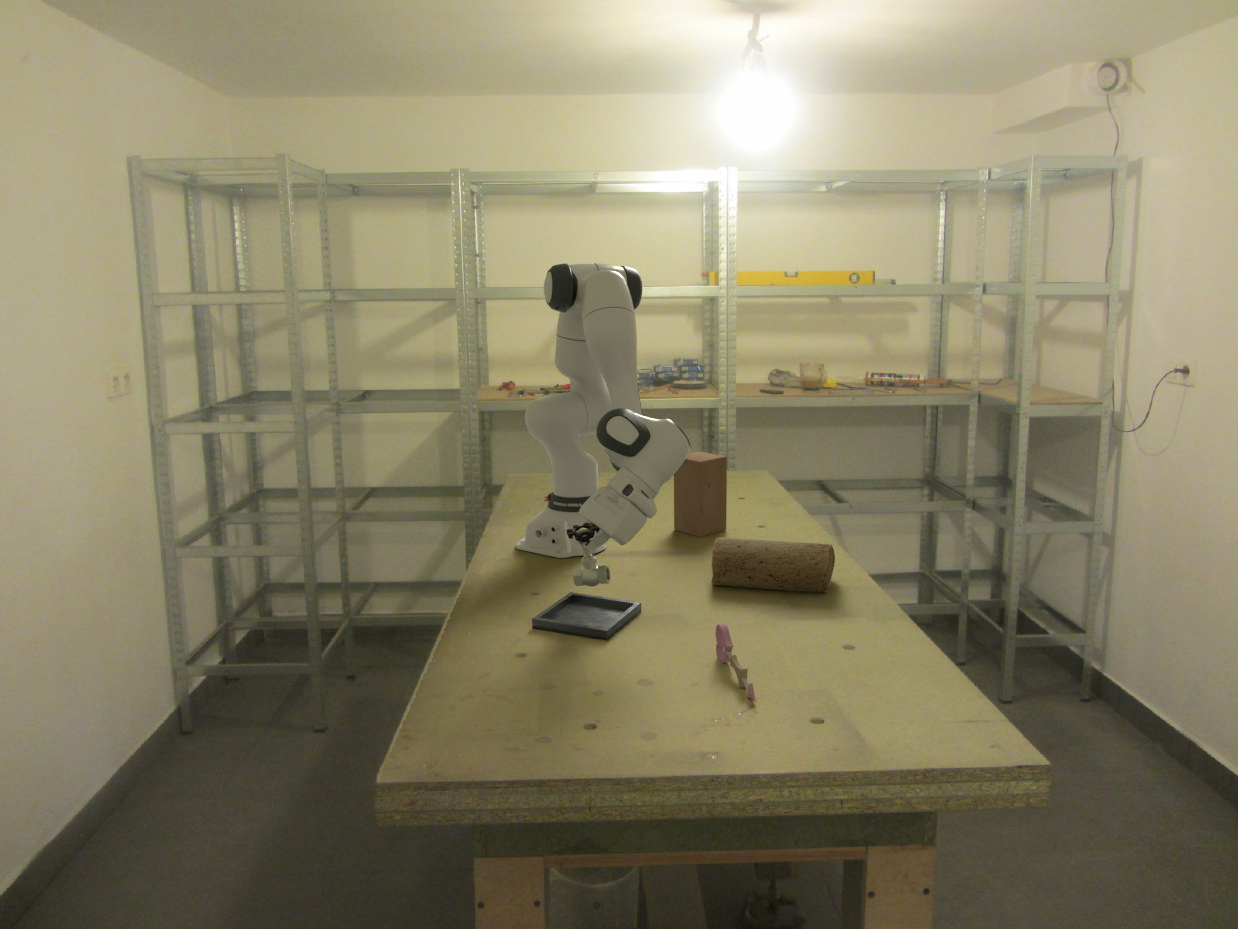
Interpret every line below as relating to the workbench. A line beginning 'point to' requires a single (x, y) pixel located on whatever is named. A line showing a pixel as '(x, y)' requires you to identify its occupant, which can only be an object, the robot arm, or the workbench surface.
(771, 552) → the core sample
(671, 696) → the workbench surface
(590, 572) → the valve
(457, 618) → the workbench surface
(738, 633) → the workbench surface
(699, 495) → the wooden block
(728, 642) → the decorative key
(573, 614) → the dark gray tray
